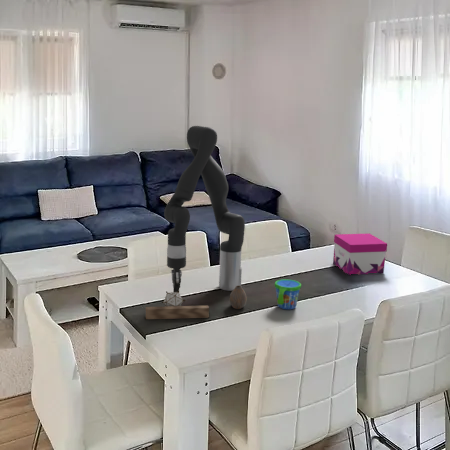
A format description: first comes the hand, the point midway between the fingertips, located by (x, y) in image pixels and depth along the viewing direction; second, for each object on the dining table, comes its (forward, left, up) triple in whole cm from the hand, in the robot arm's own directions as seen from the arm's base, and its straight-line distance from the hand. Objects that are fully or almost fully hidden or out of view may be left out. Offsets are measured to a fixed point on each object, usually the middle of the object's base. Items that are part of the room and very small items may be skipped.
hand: (176, 296), depth 247 cm
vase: (-25, +3, -4) cm, 25 cm away
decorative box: (-92, -44, -4) cm, 102 cm away
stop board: (0, +12, -4) cm, 13 cm away
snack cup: (-45, +4, -4) cm, 45 cm away
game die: (+2, +6, -4) cm, 7 cm away
